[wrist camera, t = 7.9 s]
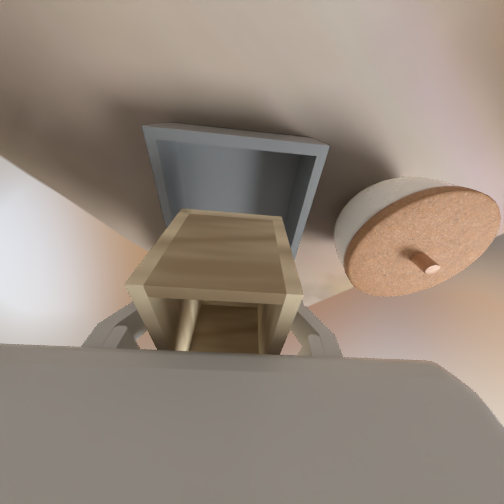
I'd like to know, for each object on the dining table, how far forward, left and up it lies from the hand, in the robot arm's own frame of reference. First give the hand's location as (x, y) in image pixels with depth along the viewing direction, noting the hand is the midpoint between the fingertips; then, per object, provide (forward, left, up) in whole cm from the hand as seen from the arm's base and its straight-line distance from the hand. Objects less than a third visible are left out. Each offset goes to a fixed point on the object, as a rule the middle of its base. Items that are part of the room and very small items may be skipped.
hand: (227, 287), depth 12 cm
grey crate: (0, 0, -11) cm, 11 cm away
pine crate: (0, 0, -2) cm, 2 cm away
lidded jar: (-1, +15, -11) cm, 19 cm away
